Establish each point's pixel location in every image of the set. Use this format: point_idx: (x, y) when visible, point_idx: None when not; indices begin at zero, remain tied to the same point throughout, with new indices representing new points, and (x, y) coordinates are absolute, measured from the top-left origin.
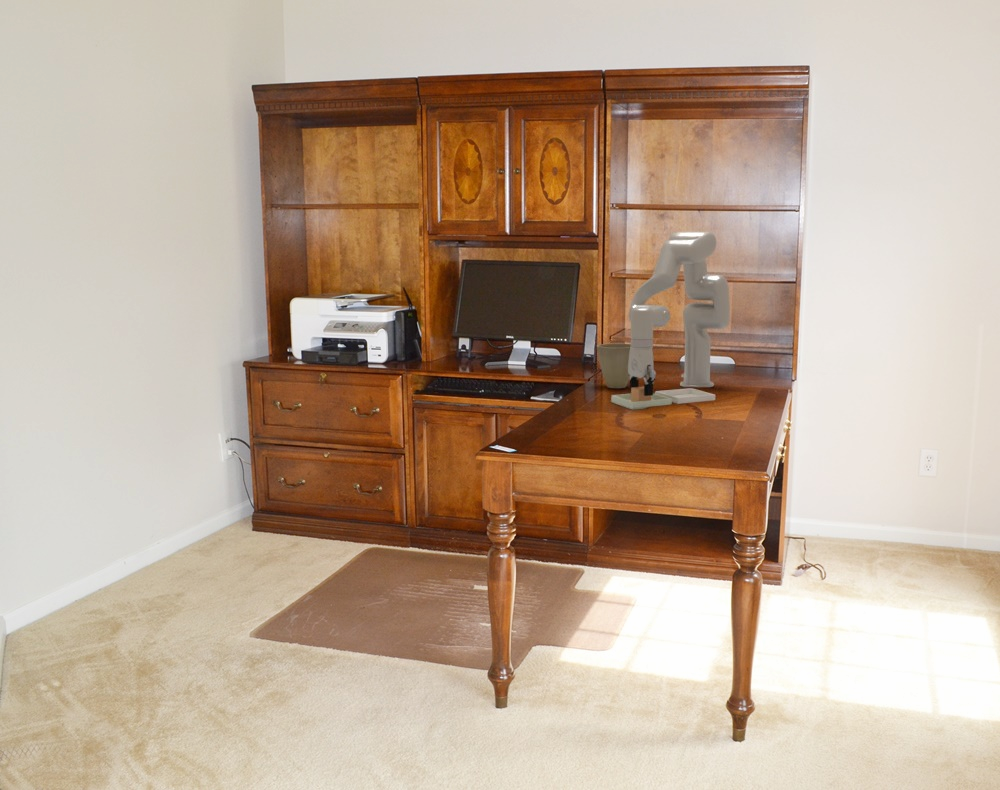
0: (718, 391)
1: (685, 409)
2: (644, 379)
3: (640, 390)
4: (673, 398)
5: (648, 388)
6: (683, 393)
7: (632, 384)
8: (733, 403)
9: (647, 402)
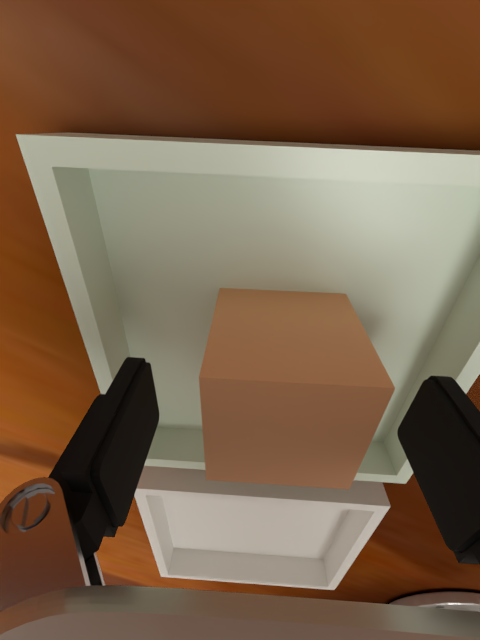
0: (322, 597)
1: (31, 426)
2: (56, 571)
3: (201, 388)
4: (182, 481)
5: (75, 441)
6: (331, 550)
7: (461, 454)
8: (121, 553)
9: (83, 311)
